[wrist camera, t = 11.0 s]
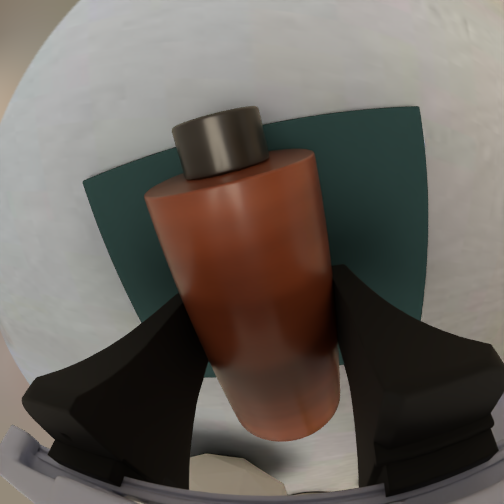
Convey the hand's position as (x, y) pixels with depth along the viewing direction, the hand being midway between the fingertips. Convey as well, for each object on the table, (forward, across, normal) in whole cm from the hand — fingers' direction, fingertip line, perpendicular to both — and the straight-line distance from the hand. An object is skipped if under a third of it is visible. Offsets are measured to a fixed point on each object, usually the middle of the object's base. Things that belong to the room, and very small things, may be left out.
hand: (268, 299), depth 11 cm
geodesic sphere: (+2, +8, +20) cm, 21 cm away
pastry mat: (+2, 0, 0) cm, 2 cm away
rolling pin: (+1, 0, 0) cm, 1 cm away
